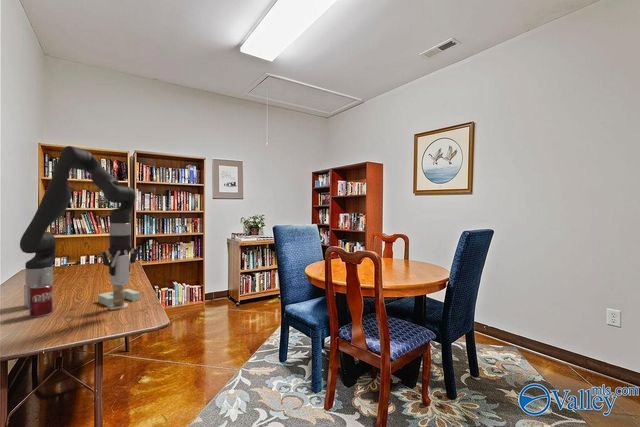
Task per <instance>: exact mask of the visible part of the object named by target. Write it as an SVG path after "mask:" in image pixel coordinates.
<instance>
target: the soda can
mask: <svg viewBox="0 0 640 427" xmlns="http://www.w3.org/2000/svg"><path fill="white" fill-rule="evenodd" d="M53 301H54V284H53V285H52V284H41V285H35V286H31V287H30V288H29V308H28V310H29V311H28V312H29V313H28V314H29V315H28V316H29V317H30V318H41V317H47V316H49V315H51V314H52V313H53V312H54V302H53Z"/></svg>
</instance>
